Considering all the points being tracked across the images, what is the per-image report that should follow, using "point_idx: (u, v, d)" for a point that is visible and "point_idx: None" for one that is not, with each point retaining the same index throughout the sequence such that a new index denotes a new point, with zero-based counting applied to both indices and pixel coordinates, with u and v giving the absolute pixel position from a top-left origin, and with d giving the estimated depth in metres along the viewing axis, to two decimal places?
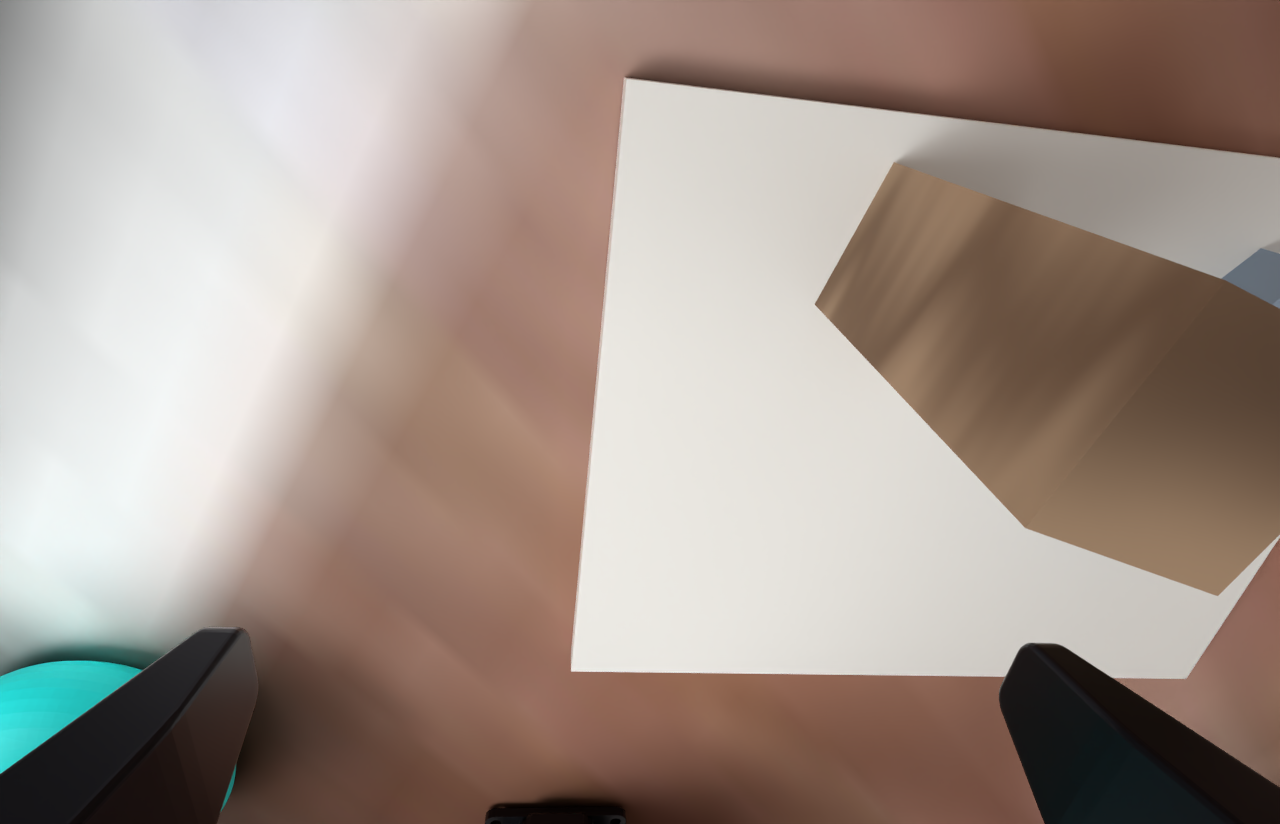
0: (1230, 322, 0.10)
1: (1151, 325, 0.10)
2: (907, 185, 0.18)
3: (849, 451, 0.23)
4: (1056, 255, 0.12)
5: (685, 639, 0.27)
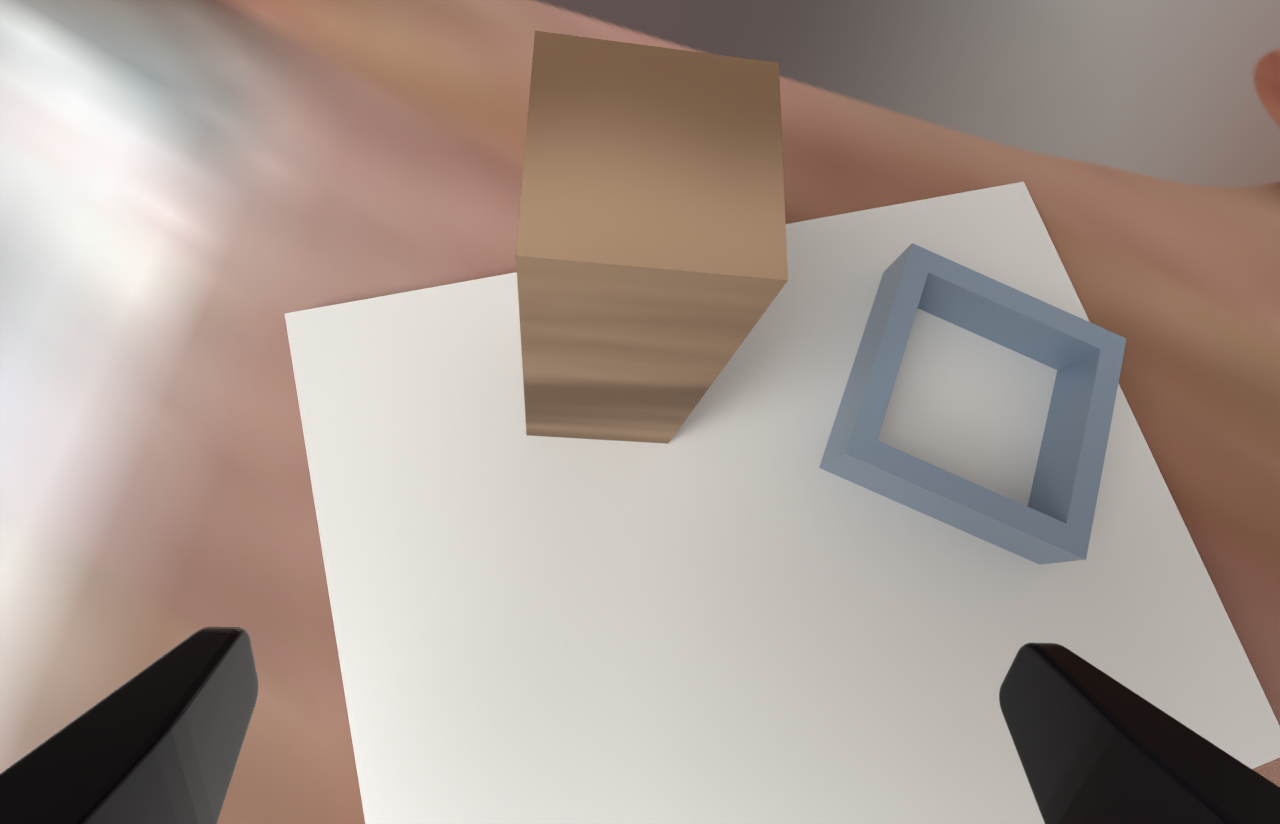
0: (565, 54, 0.12)
1: None
2: None
3: (645, 575, 0.21)
4: None
5: None
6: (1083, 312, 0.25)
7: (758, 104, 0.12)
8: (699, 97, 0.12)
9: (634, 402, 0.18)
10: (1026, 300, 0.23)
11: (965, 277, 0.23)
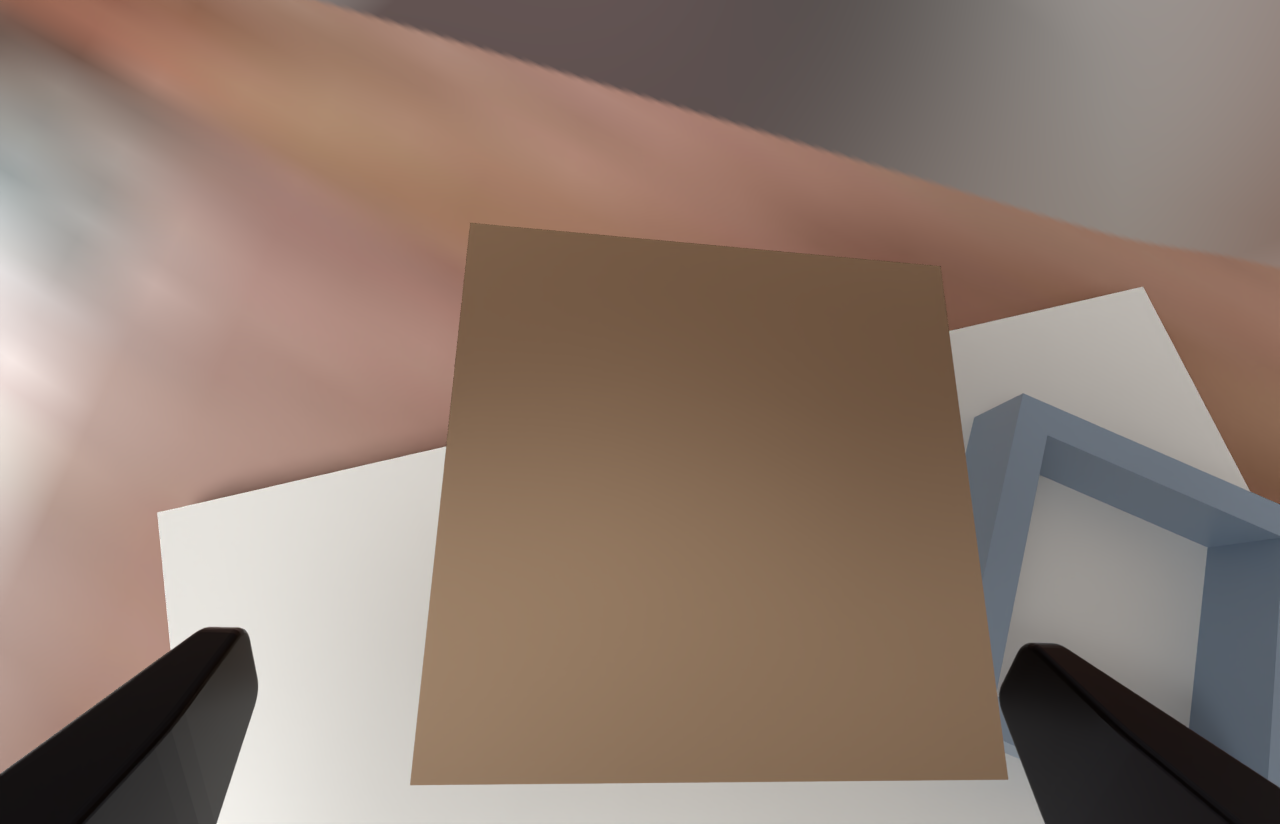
0: (529, 272, 0.06)
1: None
2: None
3: None
4: None
5: None
6: (1233, 463, 0.19)
7: (912, 358, 0.06)
8: (797, 350, 0.06)
9: None
10: (1179, 470, 0.17)
11: (1096, 440, 0.17)
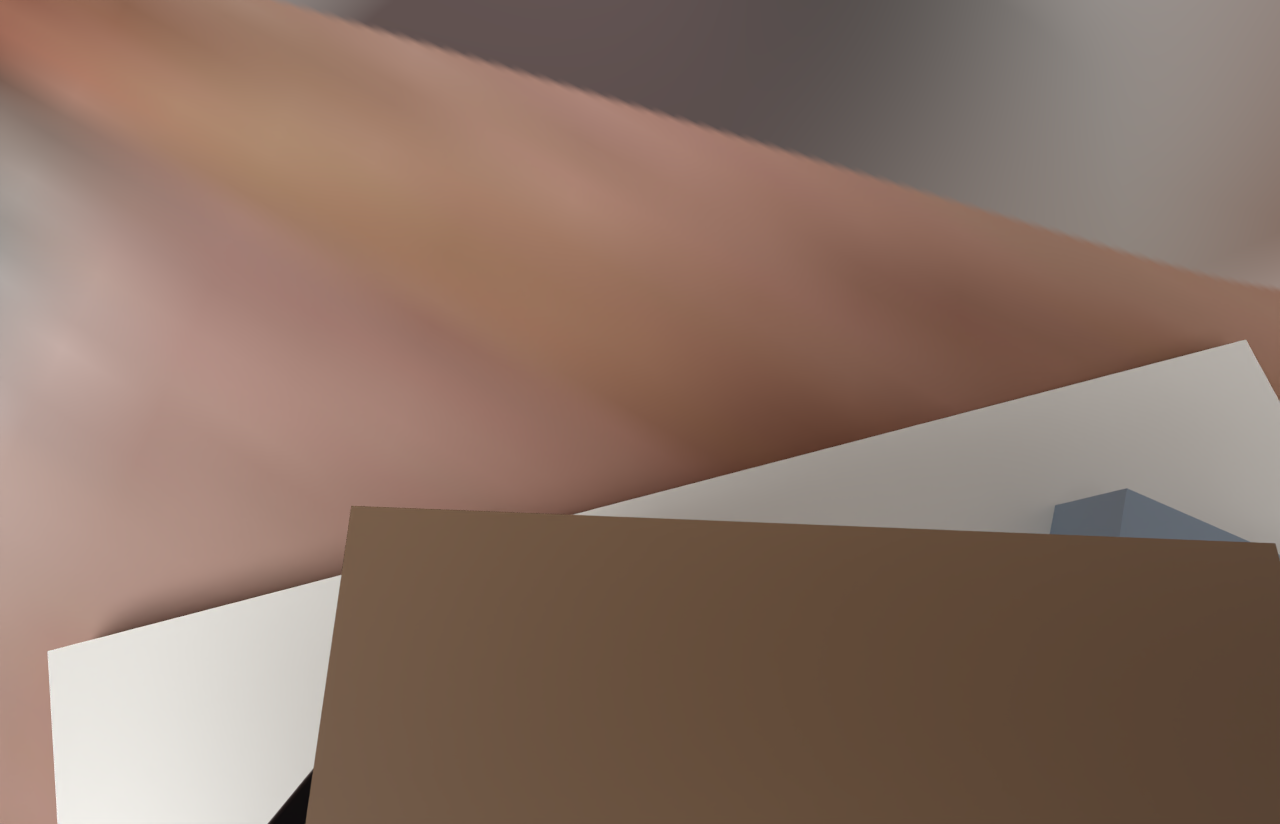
0: (475, 618, 0.03)
1: None
2: None
3: None
4: None
5: None
6: None
7: (1254, 764, 0.03)
8: (1032, 763, 0.03)
9: None
10: None
11: None
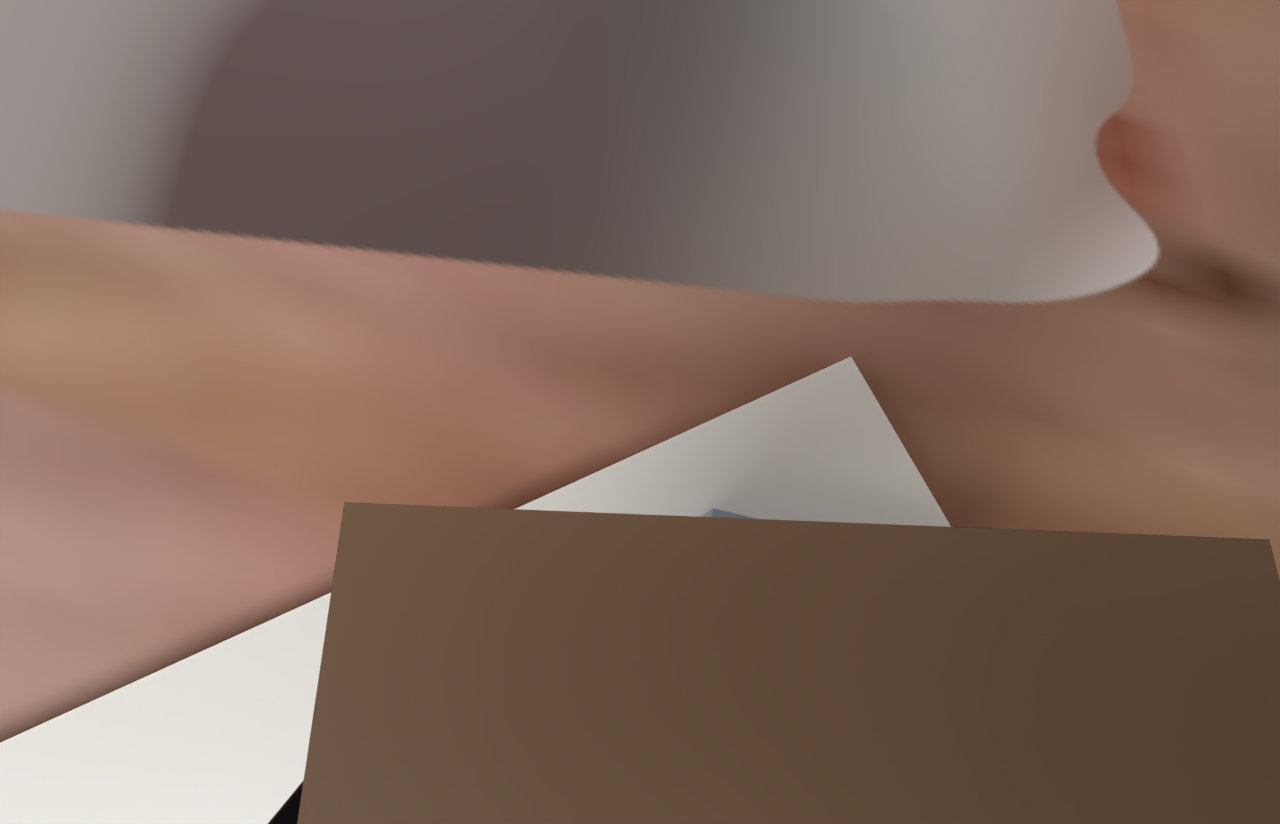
0: (467, 613, 0.03)
1: None
2: None
3: None
4: None
5: None
6: (940, 512, 0.22)
7: (1245, 759, 0.03)
8: (1025, 759, 0.03)
9: None
10: None
11: None
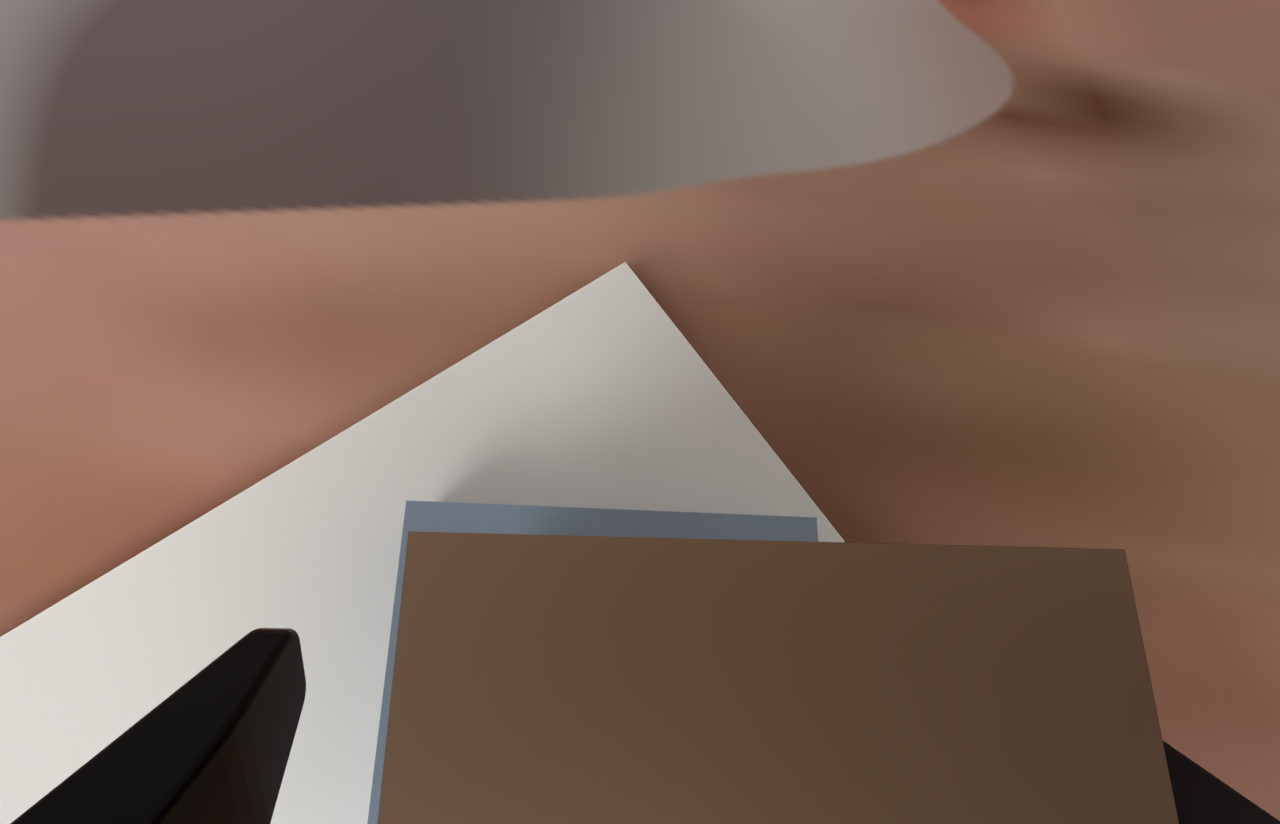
0: (503, 612, 0.04)
1: None
2: None
3: None
4: None
5: None
6: (766, 446, 0.16)
7: (1095, 719, 0.04)
8: (925, 719, 0.04)
9: None
10: (634, 522, 0.13)
11: (517, 525, 0.13)
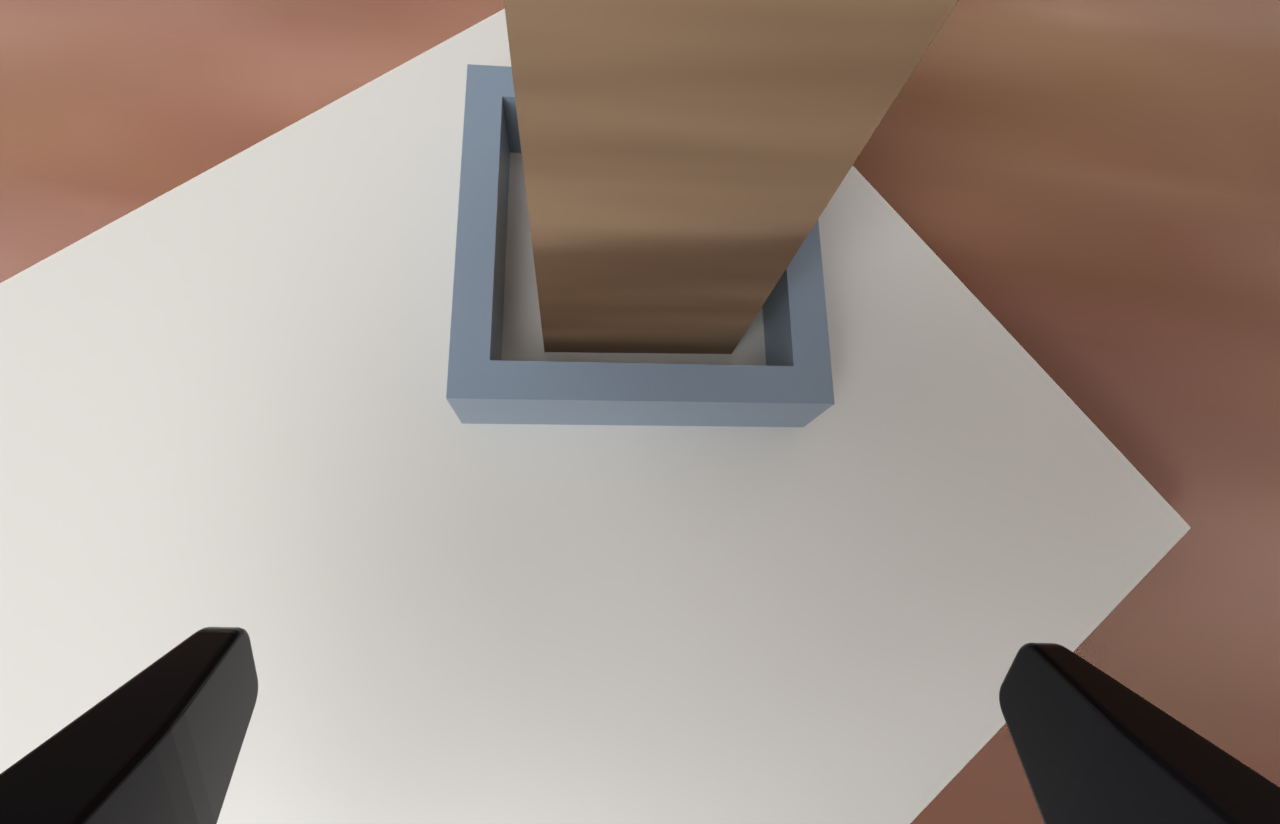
0: None
1: None
2: None
3: None
4: None
5: None
6: None
7: None
8: None
9: (692, 278, 0.13)
10: None
11: None
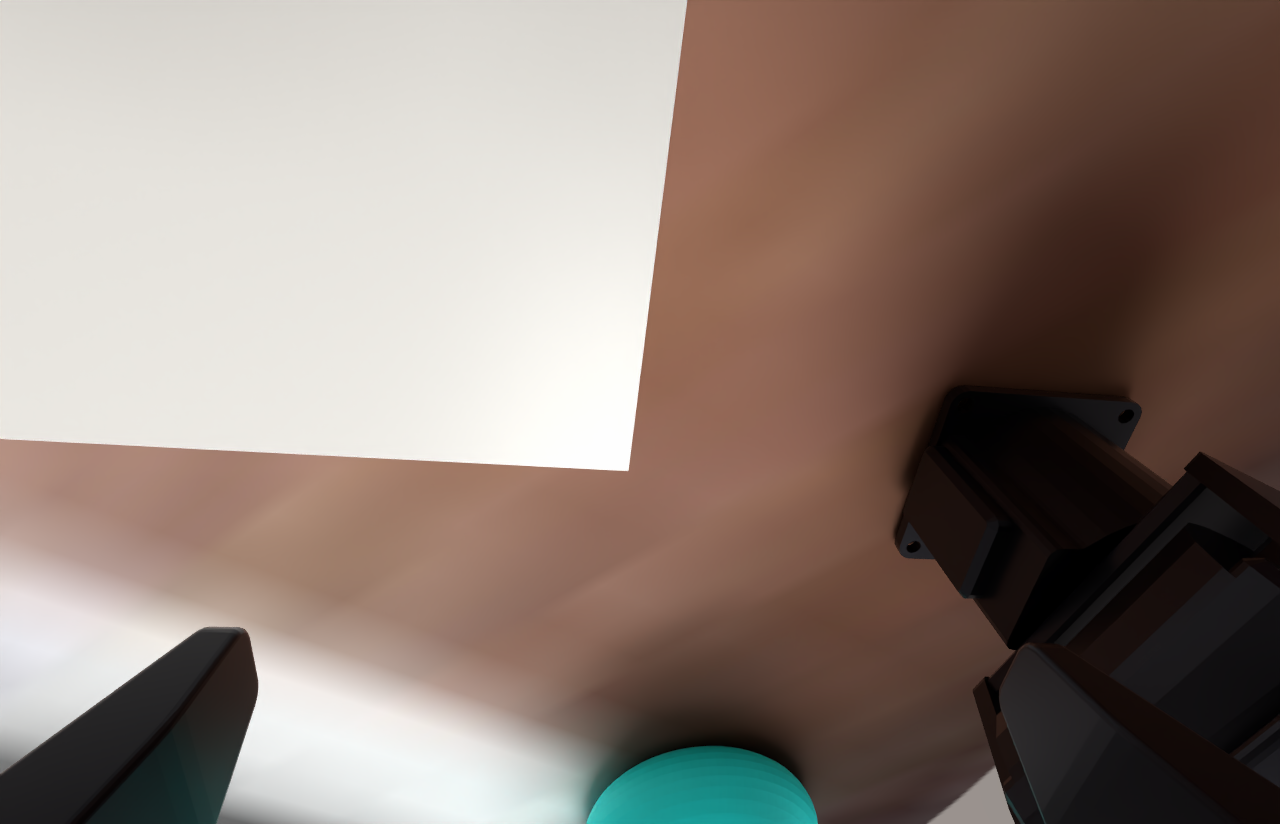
0: None
1: None
2: None
3: (208, 125, 0.16)
4: None
5: (579, 333, 0.19)
6: None
7: None
8: None
9: None
10: None
11: None
